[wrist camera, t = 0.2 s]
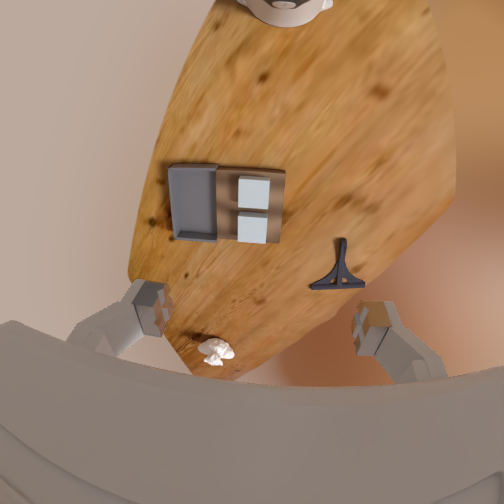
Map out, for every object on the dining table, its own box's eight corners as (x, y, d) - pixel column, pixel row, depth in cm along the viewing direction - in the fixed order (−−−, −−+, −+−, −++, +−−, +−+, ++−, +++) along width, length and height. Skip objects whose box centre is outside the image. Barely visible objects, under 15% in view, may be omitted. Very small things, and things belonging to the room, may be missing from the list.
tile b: (239, 211, 58) (238, 216, 56) (267, 213, 58) (267, 218, 56) (239, 236, 61) (237, 241, 59) (266, 238, 61) (265, 243, 59)
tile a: (240, 175, 54) (238, 178, 52) (270, 177, 53) (269, 180, 51) (239, 202, 57) (238, 207, 55) (268, 204, 57) (267, 209, 54)
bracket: (370, 236, 61) (373, 241, 59) (363, 284, 69) (365, 291, 67) (312, 237, 63) (313, 243, 61) (311, 286, 71) (311, 293, 69)
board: (218, 166, 56) (216, 169, 54) (285, 170, 55) (285, 173, 53) (219, 233, 64) (217, 238, 62) (279, 237, 63) (279, 243, 61)
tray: (173, 163, 56) (167, 167, 53) (218, 164, 55) (214, 168, 52) (179, 232, 65) (174, 239, 62) (219, 235, 64) (216, 242, 62)
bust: (237, 340, 88) (236, 348, 76) (232, 360, 87) (231, 371, 76) (202, 332, 87) (196, 339, 76) (197, 352, 87) (192, 362, 76)
